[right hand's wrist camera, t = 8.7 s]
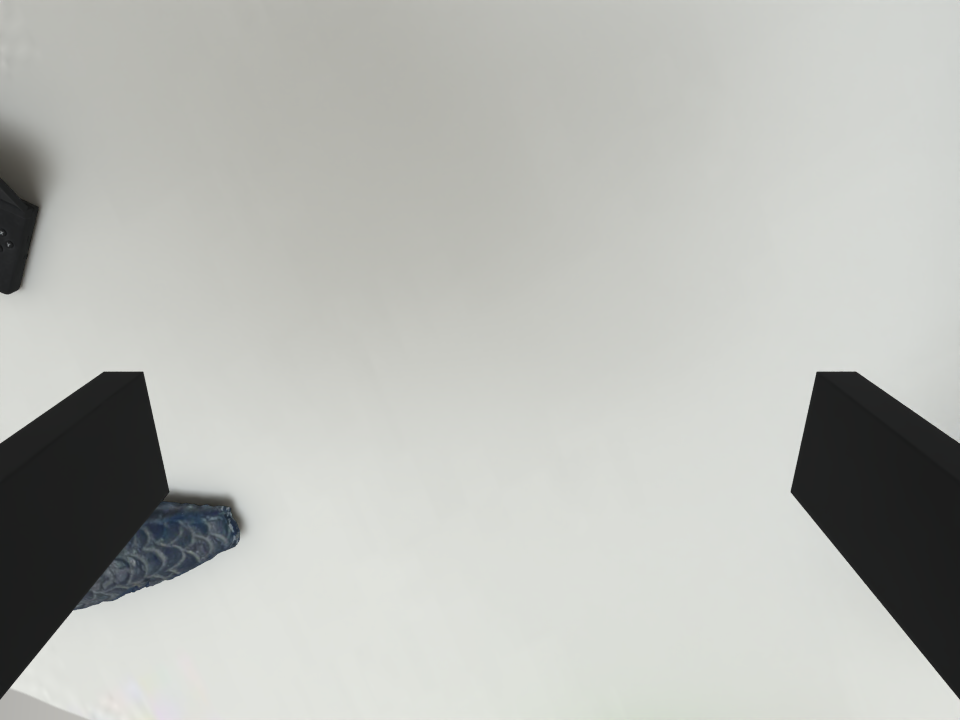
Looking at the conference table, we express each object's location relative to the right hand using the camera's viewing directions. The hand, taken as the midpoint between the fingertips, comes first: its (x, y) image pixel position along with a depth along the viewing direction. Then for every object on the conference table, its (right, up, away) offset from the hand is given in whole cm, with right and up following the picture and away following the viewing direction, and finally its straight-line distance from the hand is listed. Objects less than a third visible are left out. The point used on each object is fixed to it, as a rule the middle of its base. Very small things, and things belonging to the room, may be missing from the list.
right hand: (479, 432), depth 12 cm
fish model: (-27, -12, +34) cm, 45 cm away
